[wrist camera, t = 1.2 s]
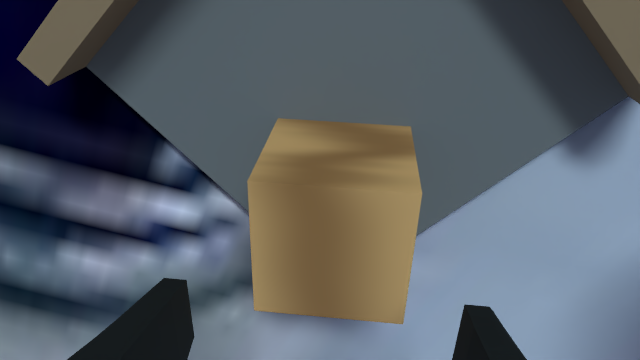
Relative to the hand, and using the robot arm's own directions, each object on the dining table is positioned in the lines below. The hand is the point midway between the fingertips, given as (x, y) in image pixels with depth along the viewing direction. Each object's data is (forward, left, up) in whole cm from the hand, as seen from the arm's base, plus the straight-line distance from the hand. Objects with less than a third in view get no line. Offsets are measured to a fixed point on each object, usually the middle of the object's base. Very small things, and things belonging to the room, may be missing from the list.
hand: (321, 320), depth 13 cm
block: (0, 0, -8) cm, 8 cm away
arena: (+3, -4, -8) cm, 10 cm away
